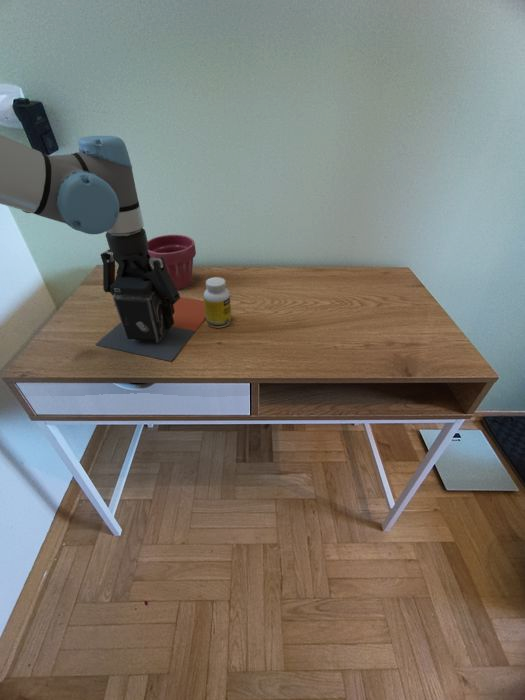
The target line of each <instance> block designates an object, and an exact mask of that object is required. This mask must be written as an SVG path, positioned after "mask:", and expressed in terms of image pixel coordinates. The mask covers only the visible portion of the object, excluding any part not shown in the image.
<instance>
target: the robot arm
mask: <svg viewBox="0 0 525 700" xmlns="http://www.w3.org/2000/svg"><path fill="white" fill-rule="evenodd" d="M77 144H78V151H76V152H73V153H67V154H53V155H48V154H46V153H43V152H41V151H39V150H37V149H35V148H33V147H30V146H28V145H26V144H23V143H21V142H19V141H16V140H14V139H11V138H10V137H7V136H6V135H5V136H4V135H2V134H0V205H3V206H6V207H10V208H14V209H17V210H21V211H22V212H23V213H25V214H34V215H36V216H39V217H43V218H46V219H49V220H52V221H56V222H59V223H63V224H66V225H67V226H69V228H71V229H73V230H75V231H79V232H81V233H84V234H88V235H100V234H104V233H105V238H106V241H107V245H108V248H109V249H107V250H105V251H104V252H102V253H100V258H101V261H102V262H101V263H102V270H103V271H102V274H103V275H102V279H103V280H102V282H103V284H102V287H103V292H104V293H110V294H111V295H112V297H113V296H114V294H115V293H113V292H112V291H111V289H110V286H111V284H112V283H113V282H114V281H115V280H116V279H117V278H118V277H119V276H121V277H122V276H123V275H125V274H126V273H127V274H129V275H132V274H134V275H136V276H140V277H141V278H142V280H148V281H151V282H152V284H153V287H152V290H153V291H154V292H155V293H156V295H157V296H158V297H159V299H160V300H161V301H162V302H163V303H162V304H161V310H162V314H163V319H164V323H165V328H166V329H169V328H170V327H171V326H172V325H173V324H174V320H173V314H174V312H175V311H174V306H173V304H175V303H176V302H177V301H178V300H179V299H180V297H181V295H180V293H179V292H178V289H176V287H175V285H174V283H173V281H172V279H171V277H170V275H169V273H168V271H167V269H166V267H165V261H164V258H163V257H159V258H158V259H157V258H151V256H150V255H149V253H148V241H149V240H148V237H147V231H146V229H145V228H144V226H145V223H144V219H143V215H142V211H141V206H140V201H139V199H138V193H137V192H138V191H137V187H136V183H135V178H134V172H133V165H132V163H131V159H130V158H131V157H130V155H129V151H128V149H127V146H126V143H125V141H124V140H123V139H122V138H121V137H119V136H115V135H90V136H89V135H88V136H82V137H79V138H78V141H77ZM116 264H117V265H118V267H117V270H116ZM147 270H148V273H147V274H145V273H146V272H147ZM166 297H167V298H166Z"/></svg>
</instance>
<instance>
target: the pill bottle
mask: <svg viewBox="0 0 525 700" xmlns="http://www.w3.org/2000/svg"><path fill="white" fill-rule="evenodd" d="M205 286H206V287H205V288H206V289H205V290H204V293H203V301H204V304H205V312H206V319H205V320H206V323H207V324H208V326H209V327H212V328H215V329H216V328H217V329H220V328H221V329H222V328H225V327H227V326H228V325H230V324H231V322H232V311H231V308H232V307H231V293H230V290H229V289H228V288H226V286H227V285H226V279H224V278H223V277H218V276H214V277H209V278H208V279H206V281H205Z"/></svg>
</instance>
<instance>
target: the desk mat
mask: <svg viewBox="0 0 525 700" xmlns="http://www.w3.org/2000/svg"><path fill="white" fill-rule="evenodd" d="M166 298H167V297H166ZM173 306H174V311H175V312H174V314H173V320H174V324H173V325H172V326H171V327H170V328H169V329H167V330H166V332H165V333H164V335H163V337H162V339H161V340H160V341H158V342H156V341H148V340H135V339H134V340H132V339H127V338H126V336H125V333H124V330H123V327H122V324H121V322H119V323H118V324H117V325H116V326H115V327H113V329H111V330H110V331H109V332H108V333H107V334H106V335H104V336H103V337H102V338H101V339H100V340H99V341H98V342H96V344H95V346H96V347H101V348H106V349H109V350H114V351H118V352H124V353H128V354H131V355H132V354H133V355H136V356H143V357H147V358H151V359H156V360H160V361H165V362H169V363H172V362H173V361H174V360H175V359H176V358H177V356H178V355H179V353H180V352H181V351H182V349H183V348H184V347H185V346H186V345H187V343H188V342H189V340H190V339H191V338H192V337H193V336H194V335H195V333H196V331H197V330H198V329H199V328H200V327H201V326H202V324H203V323H204V322H205V320H206V312H205V304H204V300H199V299H194V298H193V299H192V298H187V297H183V296H182V297H181V296H180V299H179V300H178V301H177V302H176V303H175V304H173Z"/></svg>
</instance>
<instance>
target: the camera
mask: <svg viewBox="0 0 525 700" xmlns="http://www.w3.org/2000/svg"><path fill="white" fill-rule="evenodd" d="M147 273H148V270H147V272H146V273H145V274H147ZM115 279H116V278H115ZM152 287H153V284H152V282H151V281H148V280H142V278H141V277H140V276H136V275H134V274H132V275H129V274H127V273H126V274H125V275H123V276H122V277H121V276H119V277H118V278H117V279H116V280H115V281H114V282H113V283H112V284H111V286H110V289H111V291H112V292H113V293H115V294H114V296H113V295H112V299H113V302H114V307H115V308H116V312H117V315H118V317H119V321H120V323H121V324H122V327H123V330H124V333H125V336H126V338H127V339H132V340H134V339H135V340H148V341H156V342H158V341H160V340H161V339H162V337H163V335H164V333H165V332H166V330H167V329H166V328H165V323H164V319H163V314H162V310H161V304H162V303H163V302H162V301H161V300H160V299H159V297H158V296H157V295H156V293H155V292H154V291H153V290H152Z"/></svg>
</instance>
